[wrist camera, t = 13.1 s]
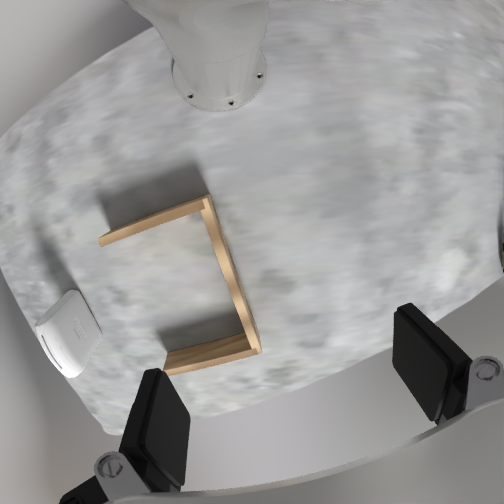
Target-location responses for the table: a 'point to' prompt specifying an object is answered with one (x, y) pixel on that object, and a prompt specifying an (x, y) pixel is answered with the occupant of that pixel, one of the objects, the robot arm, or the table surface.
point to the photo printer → (69, 334)
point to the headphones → (503, 257)
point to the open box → (249, 340)
